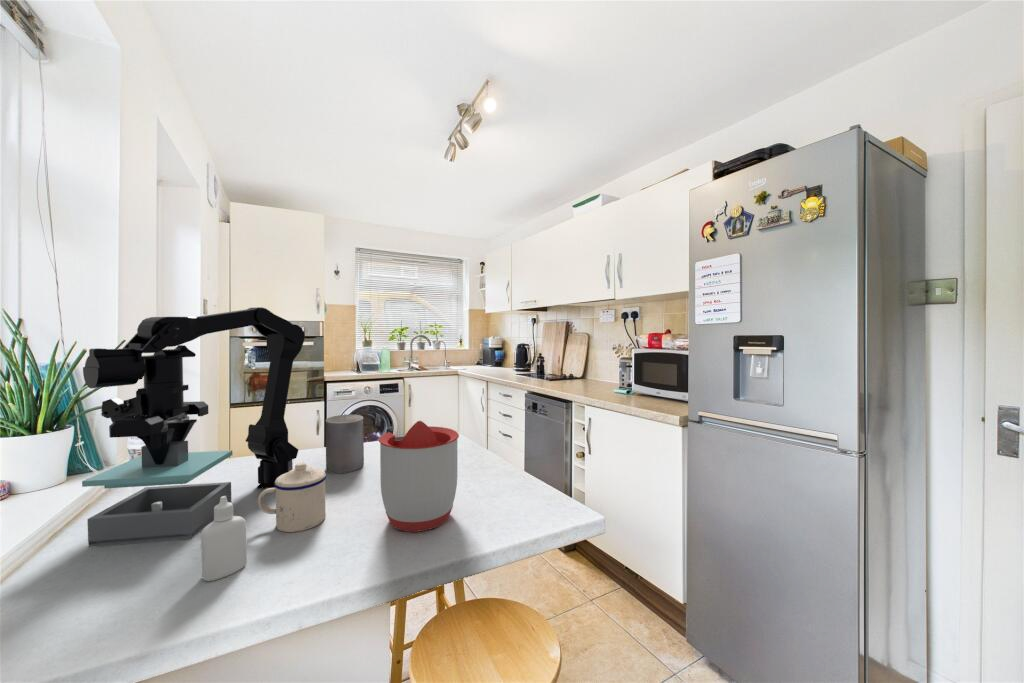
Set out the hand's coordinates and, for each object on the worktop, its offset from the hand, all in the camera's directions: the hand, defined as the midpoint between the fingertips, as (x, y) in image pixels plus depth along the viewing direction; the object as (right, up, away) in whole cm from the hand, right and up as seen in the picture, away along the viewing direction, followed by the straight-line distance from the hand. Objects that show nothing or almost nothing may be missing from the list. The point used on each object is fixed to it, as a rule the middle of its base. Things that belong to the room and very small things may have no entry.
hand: (165, 461), depth 77 cm
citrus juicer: (+48, -13, +4) cm, 50 cm away
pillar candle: (+21, -12, +32) cm, 40 cm away
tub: (0, -12, 0) cm, 12 cm away
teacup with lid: (+24, -13, +1) cm, 27 cm away
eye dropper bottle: (+22, -13, -15) cm, 30 cm away
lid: (0, -3, 0) cm, 3 cm away
